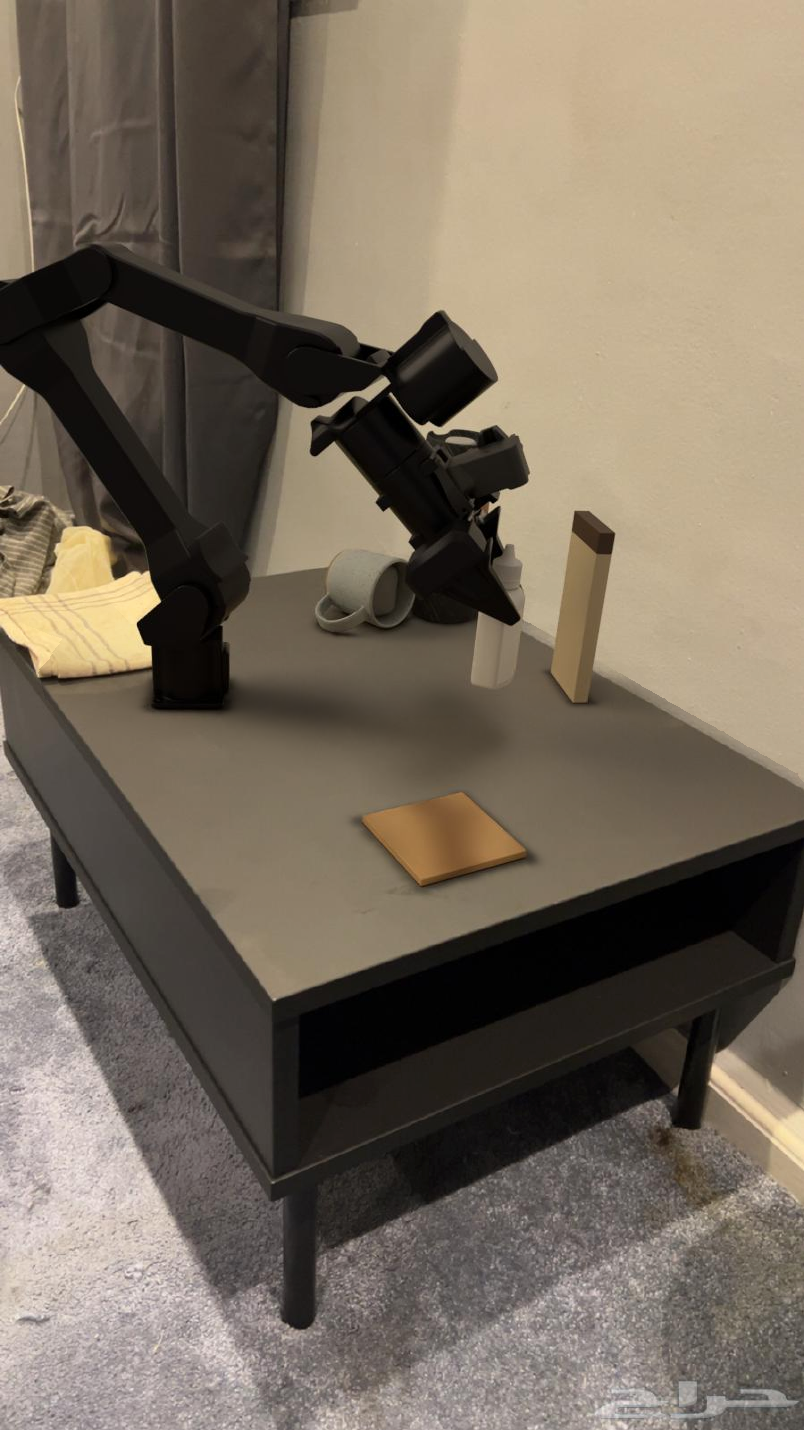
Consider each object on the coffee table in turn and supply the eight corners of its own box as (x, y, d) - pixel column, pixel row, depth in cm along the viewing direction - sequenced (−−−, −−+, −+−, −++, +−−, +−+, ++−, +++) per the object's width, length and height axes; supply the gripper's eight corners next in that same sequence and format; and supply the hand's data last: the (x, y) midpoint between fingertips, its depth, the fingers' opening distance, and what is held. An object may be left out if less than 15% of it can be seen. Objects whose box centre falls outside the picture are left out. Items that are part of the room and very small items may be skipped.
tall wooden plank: (572, 703, 102) (599, 532, 94) (550, 672, 108) (574, 510, 100) (587, 702, 102) (615, 533, 94) (564, 672, 108) (589, 510, 100)
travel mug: (471, 628, 117) (492, 448, 108) (403, 618, 118) (419, 439, 109) (480, 604, 124) (501, 433, 115) (416, 595, 125) (432, 425, 116)
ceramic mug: (362, 598, 123) (364, 535, 119) (416, 618, 118) (420, 553, 115) (297, 622, 115) (298, 555, 112) (352, 644, 111) (354, 575, 107)
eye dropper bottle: (533, 681, 91) (553, 548, 86) (485, 695, 88) (502, 557, 82) (499, 662, 94) (516, 533, 89) (451, 675, 91) (466, 541, 85)
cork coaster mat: (421, 886, 73) (421, 879, 73) (362, 821, 80) (362, 815, 80) (526, 857, 77) (527, 850, 77) (461, 798, 84) (462, 791, 84)
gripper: (465, 420, 73) (599, 591, 76) (487, 379, 89) (596, 521, 93) (347, 518, 77) (479, 675, 81) (388, 461, 93) (497, 593, 97)
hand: (518, 609), depth 88 cm, fingers closed on eye dropper bottle, 5 cm apart
